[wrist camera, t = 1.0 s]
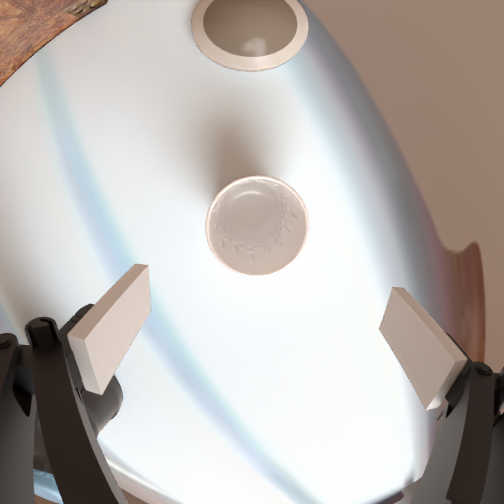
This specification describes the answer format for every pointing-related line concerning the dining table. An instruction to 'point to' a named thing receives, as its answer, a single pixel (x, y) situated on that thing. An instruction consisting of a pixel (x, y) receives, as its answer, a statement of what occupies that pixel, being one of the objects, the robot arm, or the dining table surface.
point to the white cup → (257, 226)
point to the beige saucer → (249, 32)
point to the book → (35, 27)
